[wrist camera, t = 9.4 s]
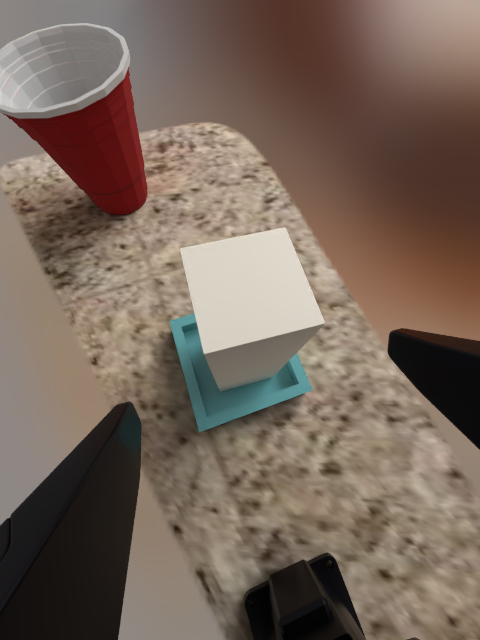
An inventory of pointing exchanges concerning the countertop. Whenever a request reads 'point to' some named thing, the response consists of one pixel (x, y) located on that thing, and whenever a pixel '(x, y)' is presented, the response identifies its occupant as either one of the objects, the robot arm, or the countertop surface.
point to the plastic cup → (78, 108)
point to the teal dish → (236, 401)
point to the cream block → (250, 305)
